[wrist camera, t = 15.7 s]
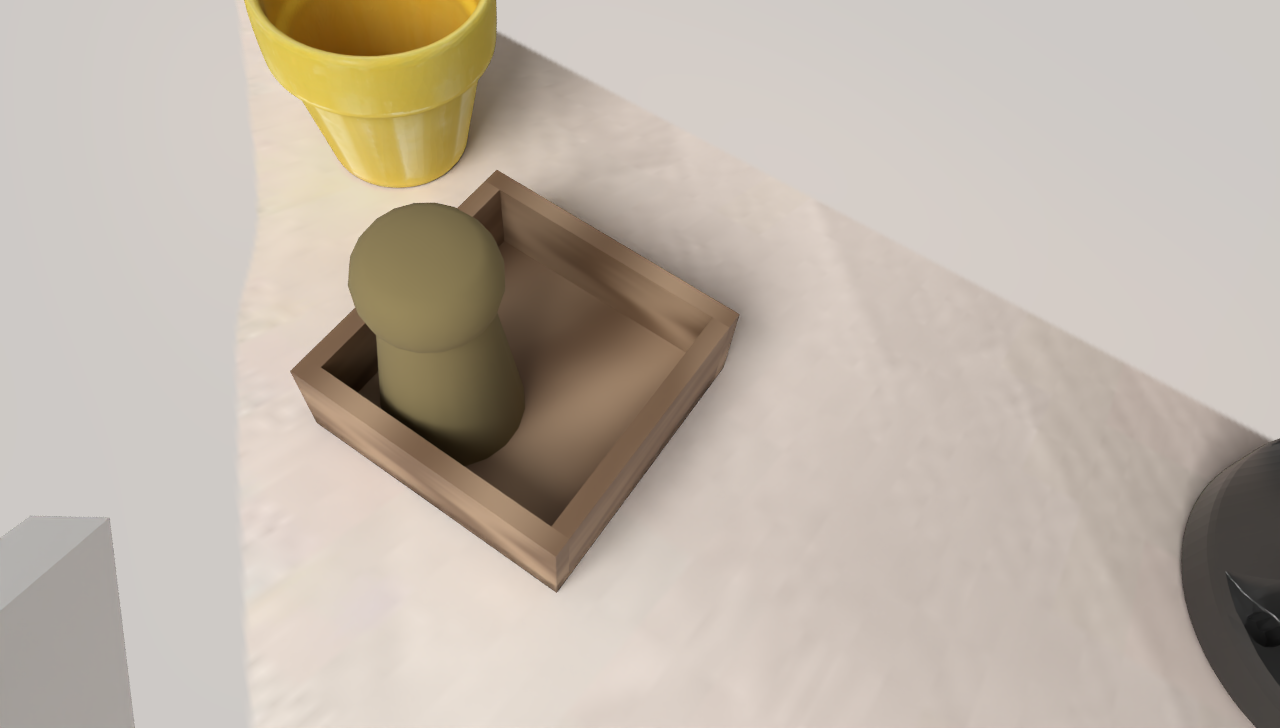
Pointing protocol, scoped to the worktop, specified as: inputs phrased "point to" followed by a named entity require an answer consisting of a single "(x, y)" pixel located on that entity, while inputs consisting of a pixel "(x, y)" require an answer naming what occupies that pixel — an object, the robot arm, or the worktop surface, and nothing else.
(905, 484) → the worktop surface
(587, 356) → the walnut crate
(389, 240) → the cork
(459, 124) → the plant pot
